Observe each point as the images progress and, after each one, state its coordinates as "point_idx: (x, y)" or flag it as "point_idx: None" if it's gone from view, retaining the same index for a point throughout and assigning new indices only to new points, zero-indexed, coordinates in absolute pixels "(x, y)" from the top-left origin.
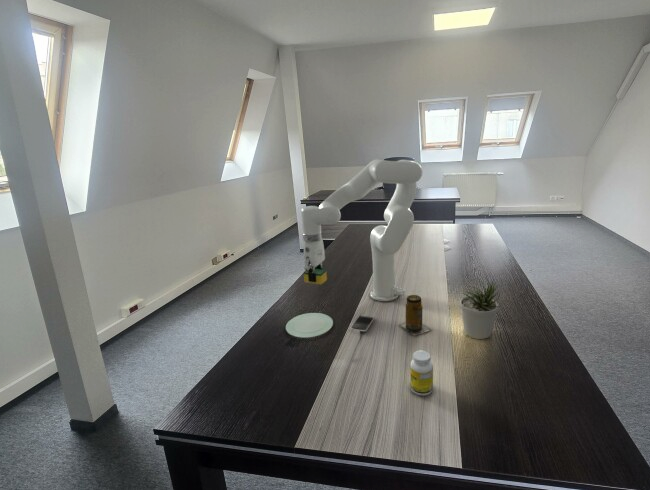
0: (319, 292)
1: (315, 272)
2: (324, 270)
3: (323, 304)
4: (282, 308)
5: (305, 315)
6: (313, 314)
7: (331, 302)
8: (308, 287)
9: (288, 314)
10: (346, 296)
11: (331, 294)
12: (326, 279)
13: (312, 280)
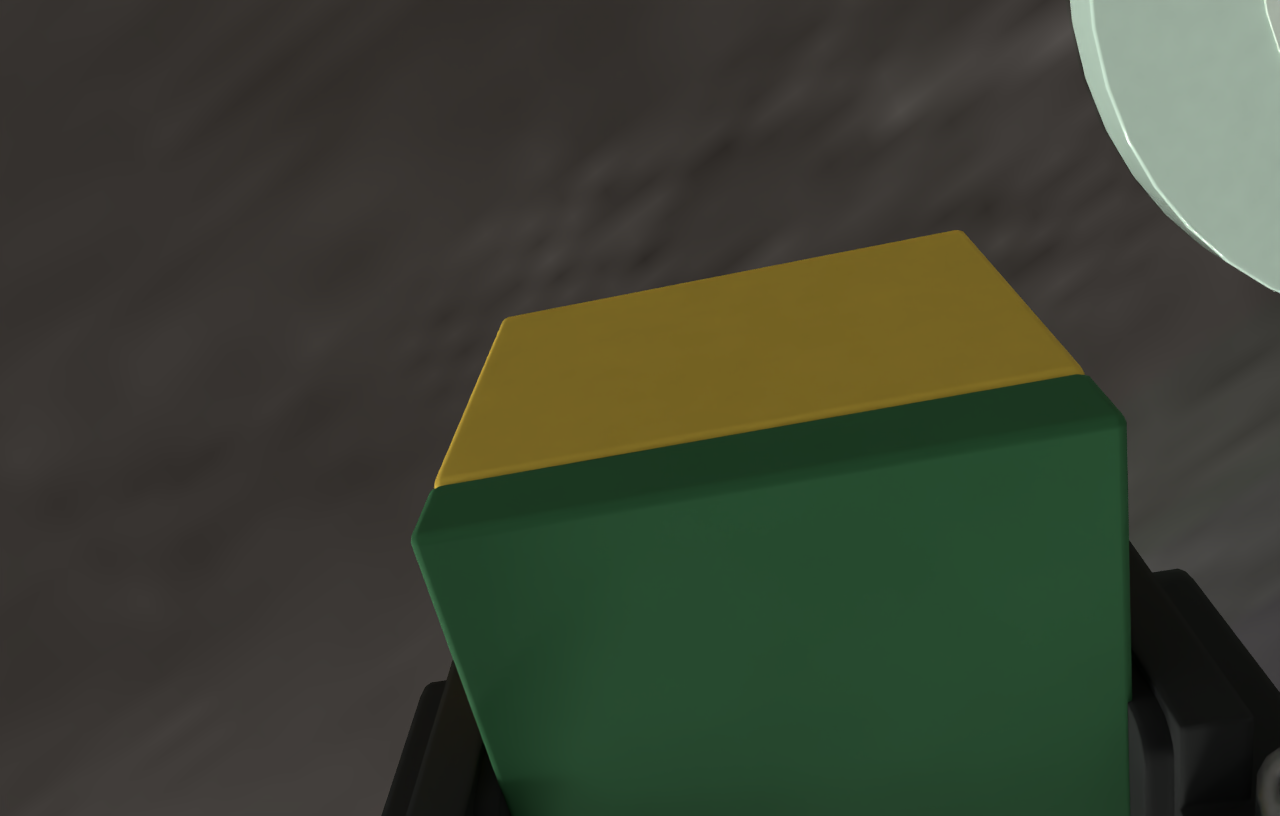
0: (303, 567)
1: (990, 777)
2: (547, 561)
3: (630, 222)
4: None
5: (1265, 188)
6: (1182, 65)
7: (480, 132)
8: (281, 801)
9: (1198, 515)
10: (85, 10)
11: (224, 342)
12: (538, 318)
13: (1172, 573)
